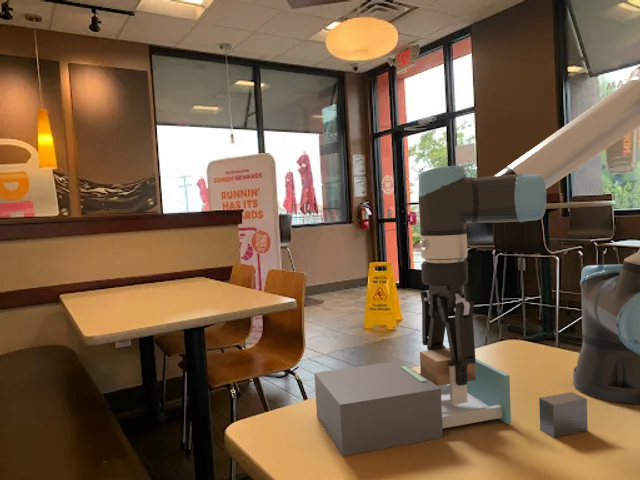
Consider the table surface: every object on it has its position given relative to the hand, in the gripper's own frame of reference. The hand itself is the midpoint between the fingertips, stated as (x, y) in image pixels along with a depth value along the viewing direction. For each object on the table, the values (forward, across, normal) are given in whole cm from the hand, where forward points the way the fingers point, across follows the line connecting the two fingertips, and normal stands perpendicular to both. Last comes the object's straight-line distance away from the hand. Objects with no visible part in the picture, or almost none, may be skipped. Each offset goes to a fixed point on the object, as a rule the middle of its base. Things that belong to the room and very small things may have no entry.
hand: (448, 395), depth 83 cm
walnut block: (-3, 0, 0) cm, 3 cm away
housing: (+3, 0, -14) cm, 15 cm away
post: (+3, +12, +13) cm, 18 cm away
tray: (+3, 0, -1) cm, 3 cm away
